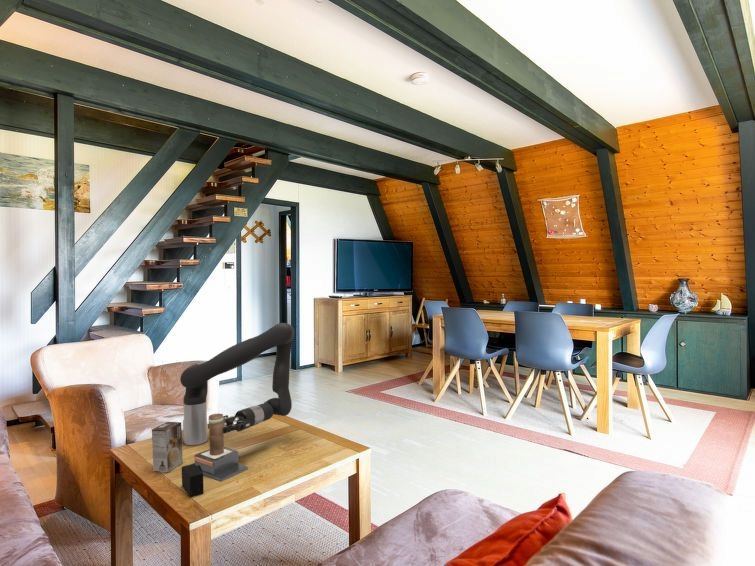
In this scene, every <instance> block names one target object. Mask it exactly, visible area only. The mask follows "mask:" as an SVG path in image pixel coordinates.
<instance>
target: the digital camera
mask: <svg viewBox="0 0 755 566" xmlns="http://www.w3.org/2000/svg"><path fill="white" fill-rule="evenodd" d="M181 487H182V488H183V490H184V491H185V492H186V494H187V495H188V496H189V497H190V498H194V497H198V496H200V495H203V494H204V492H205V491H204V475H203V473H202V469H201V466H200V465H197V466H196V465H195V464H193V463H191V464H187V465H183V466H181Z"/></svg>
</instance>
